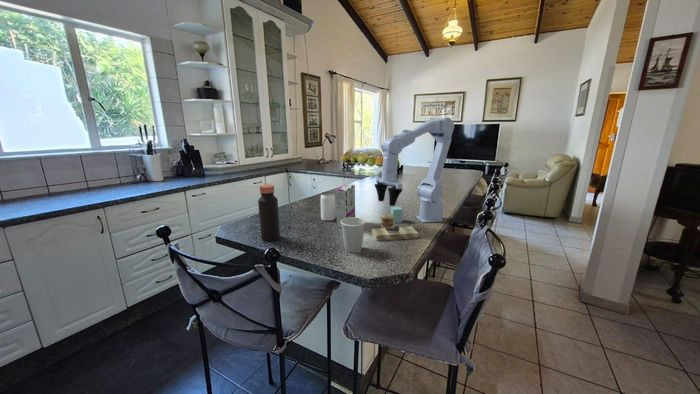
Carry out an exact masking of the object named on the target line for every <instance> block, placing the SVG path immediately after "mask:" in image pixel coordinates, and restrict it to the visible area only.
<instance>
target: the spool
mask: <svg viewBox="0 0 700 394" xmlns="http://www.w3.org/2000/svg"><path fill="white" fill-rule="evenodd" d="M379 216H380V217H379V218H380V219H381V224H380V225H379V227H380V228H385V229H386V231H389V230H394V229H395V228H396V225H395V224H394V223H393V219H395V215H393V214H391V213H381V214H380V215H379Z"/></svg>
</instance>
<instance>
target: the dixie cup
mask: <svg viewBox="0 0 700 394" xmlns="http://www.w3.org/2000/svg"><path fill="white" fill-rule="evenodd" d="M366 223H367V221H366V220H365V219H363V218H362V217H356V216H355V217H350V218H345V219H343V220H341V224H342V228H341V230H342V231H341V232H342V236H343V244H344V250H345V252H347V253H348V252H349V253H359V252H360V251H361V252H362V248H363V247H362V246H363V241H364V240H363V239H364V234H365V226H366Z"/></svg>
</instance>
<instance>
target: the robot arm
mask: <svg viewBox="0 0 700 394" xmlns="http://www.w3.org/2000/svg"><path fill="white" fill-rule="evenodd" d="M454 129H455V124H454V121H453V120H452V118H450V117H440V118H434V117H432V118H430V119H426V120H425V122H423V123H421V124H420V125H418V126H415V128H413V129H411V130H410V129H403V130H402V131H401V132H400V133H398V134H394V135H393V136H392V137H391V138H389V137H388V138H386V139H384V141H383V142H382V144H381V145H380V149H381V151H382V157H383V159H382V167H381V169H382V171H381V177H376V180H375V181H376V183H375V184H374V187H375V190H376V194H377V198H378V199H377V200H378V202H384V200H385V196H386V192H387V191H388V195H389V197H388V198H389V199H388V201H389V202H388V203H389V206H390V207H396V203H397V201H398V199H399V196H400V195H401V193H402V192H403V183H401V182H399V181H397V173H398V172H397V171H398V163H399V154H401V153H402V151H403V149H405V148H406V147H408V146H409V145H410V146H411V145H412V144H414V143H415V141H416V138H419V137H420V136H423V135H425V134H427V133H429V135H430V136H431V137H432V138H433V139H434V140H435V141H436V145H435V147H434V151H433V154H432V157H431V161H430V165H429V168H428V171H427V175H426V177H425V178H424V179H422V180H421V182H420V184H419V185H418V187H417V190H416V192H417V193H416V194H417V196H418V197H419V198H418V199H419V200H420V203H419V215H416V216H415V217H416V218H417V219H418V220H419V221H420V222H421V223H437V222H438V223H439V222H441V223H442V222H444V220H443V215H444V214H443V213H444V204H443V201H442V200H441V198H442V196H443V189H444V188H443V186H444V185H443V184H442V182H441V181H440V180H441V176H442V172H443V170H444V166H445V163H446V159H447V155H448V152H449V149H450V146H451V143H452V135H453V132H454Z"/></svg>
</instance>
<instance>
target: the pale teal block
mask: <svg viewBox="0 0 700 394" xmlns="http://www.w3.org/2000/svg"><path fill="white" fill-rule="evenodd" d="M390 214H393V215H395V219H393V224H394V223H395V224H397V223H402V222H403V208H402V207H401V206H390Z"/></svg>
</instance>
